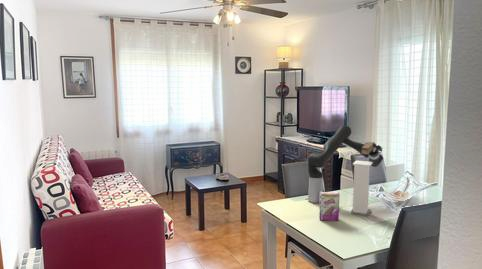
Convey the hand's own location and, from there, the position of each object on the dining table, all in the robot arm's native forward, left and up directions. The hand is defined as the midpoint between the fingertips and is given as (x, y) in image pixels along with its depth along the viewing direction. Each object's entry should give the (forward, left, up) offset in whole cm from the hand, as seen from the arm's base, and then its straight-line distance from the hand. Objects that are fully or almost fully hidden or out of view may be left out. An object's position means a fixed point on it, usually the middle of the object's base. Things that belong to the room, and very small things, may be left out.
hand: (370, 144), depth 245 cm
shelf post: (-4, -25, -40) cm, 47 cm away
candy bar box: (-22, -43, -40) cm, 63 cm away
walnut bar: (-1, -7, -3) cm, 8 cm away
